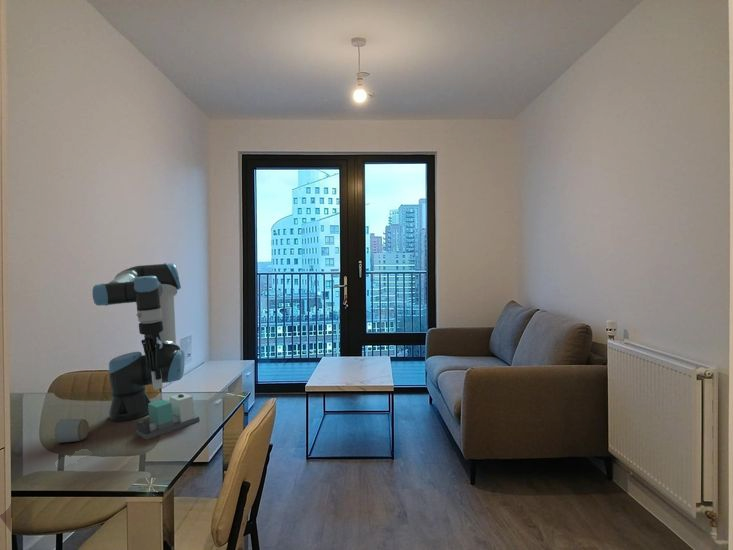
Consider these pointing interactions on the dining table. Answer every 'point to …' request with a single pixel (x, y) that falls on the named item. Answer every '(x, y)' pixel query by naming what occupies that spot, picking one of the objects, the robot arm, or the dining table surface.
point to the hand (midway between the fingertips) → (157, 388)
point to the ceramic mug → (71, 430)
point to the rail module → (160, 414)
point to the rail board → (175, 426)
